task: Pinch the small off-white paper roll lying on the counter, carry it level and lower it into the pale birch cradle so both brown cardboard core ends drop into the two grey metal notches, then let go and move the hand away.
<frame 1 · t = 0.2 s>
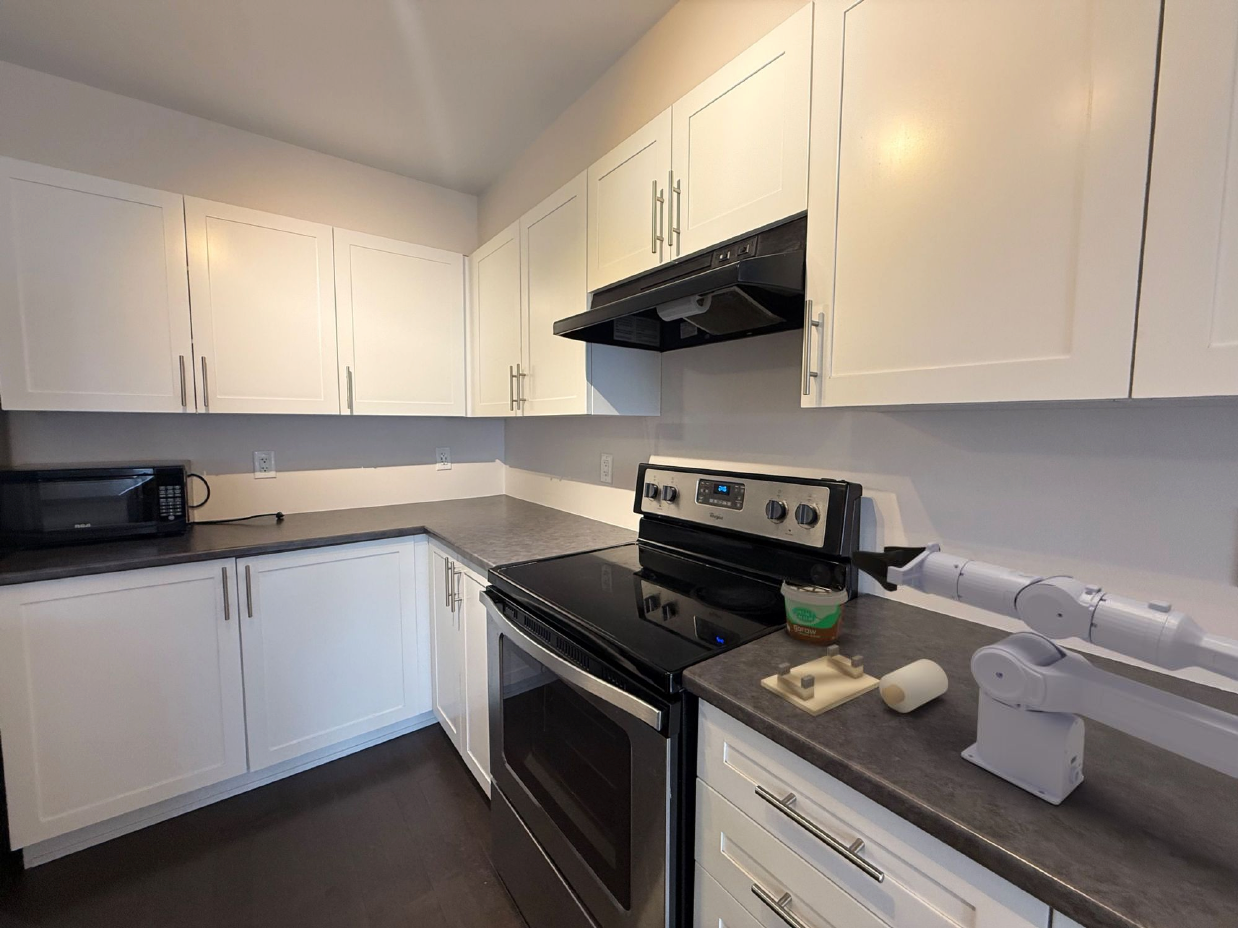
hand: (869, 555, 75), 21 cm above the worktop, tool horizontal, fingers open, 7 cm apart
cradle: (820, 685, 79), on the worktop
food container: (810, 640, 95), on the worktop
paper roll: (912, 701, 74), on the worktop
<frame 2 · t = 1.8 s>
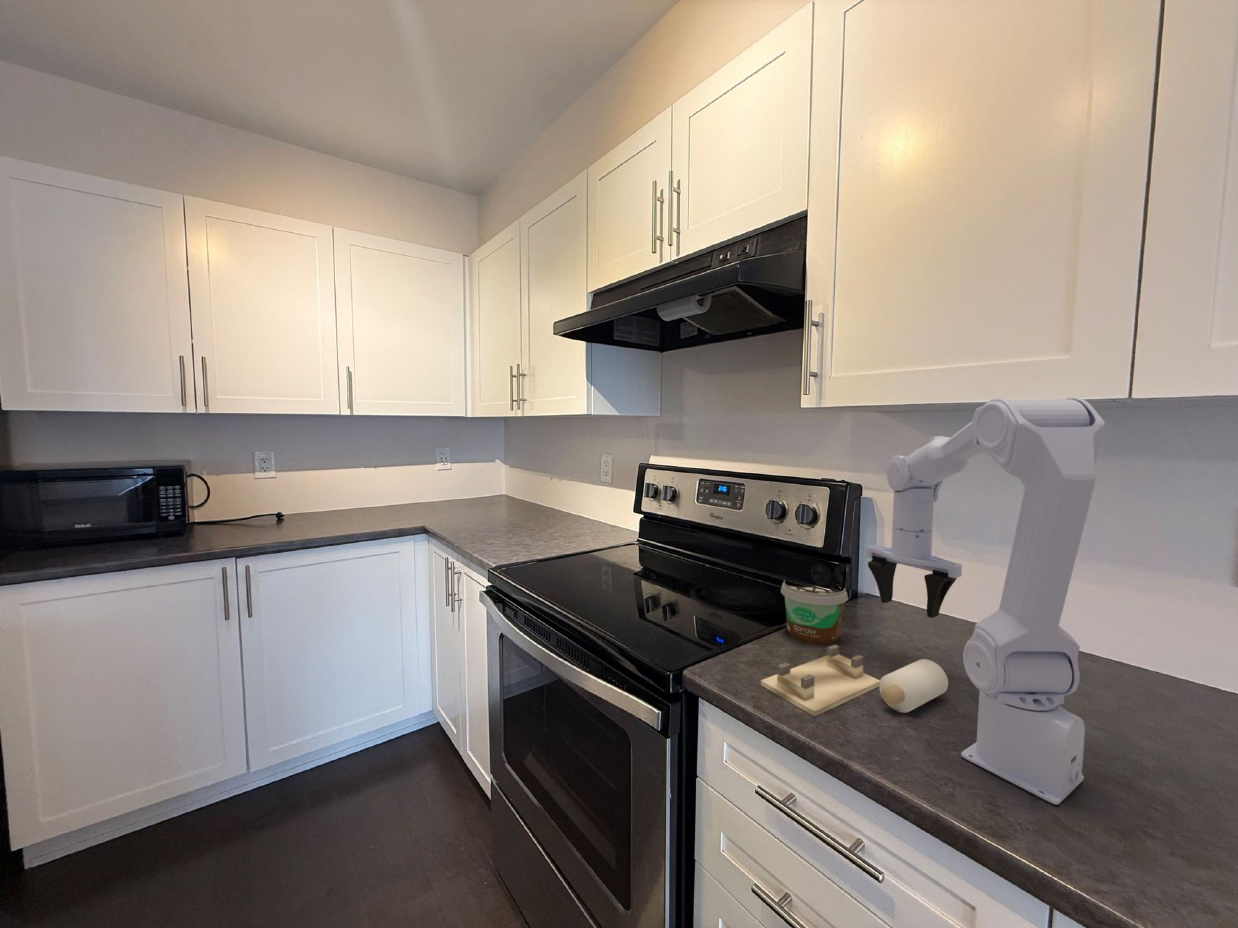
hand: (908, 608, 83), 10 cm above the worktop, tool pointing down, fingers open, 7 cm apart
nothing on the worktop moved.
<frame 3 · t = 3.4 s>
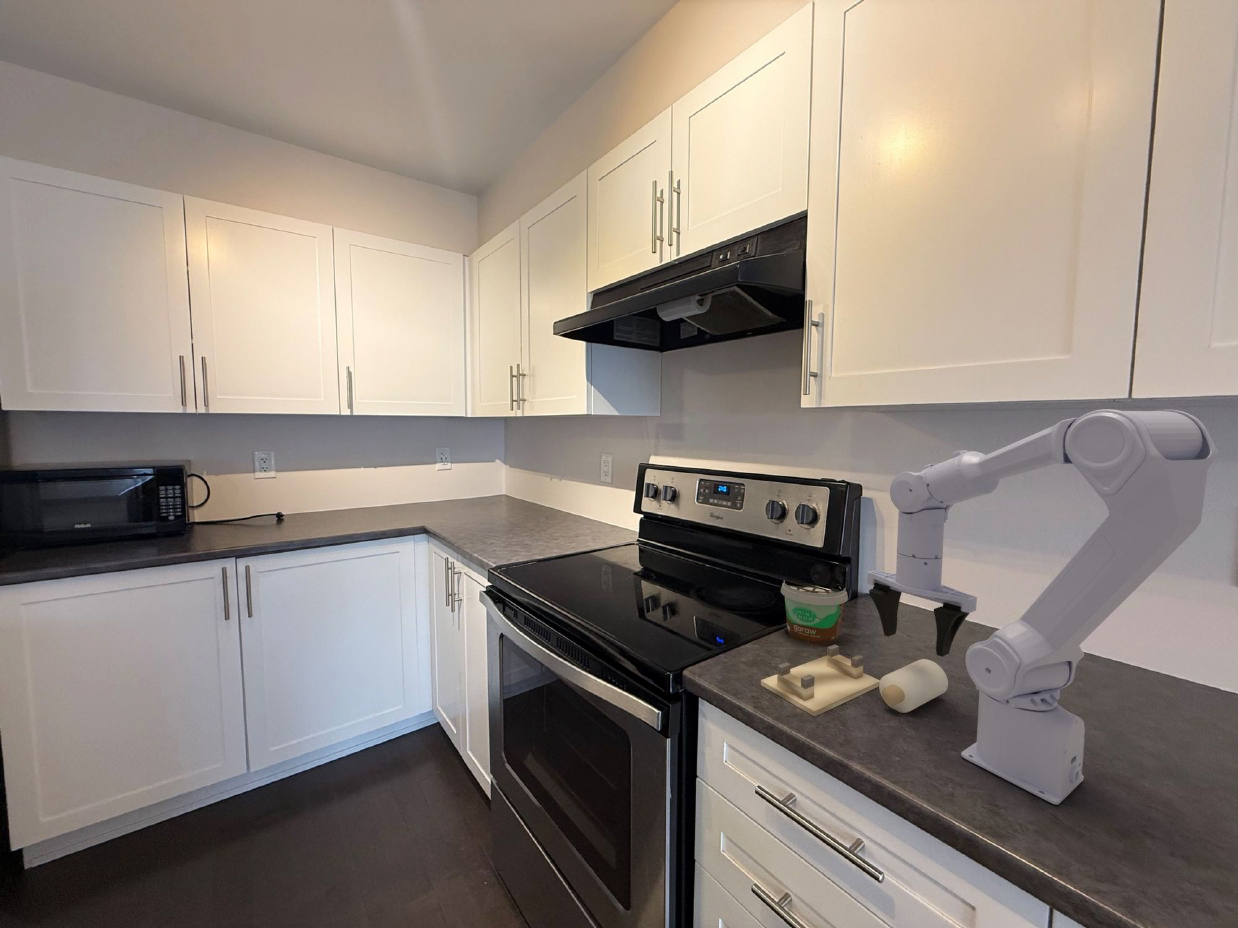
hand: (915, 643, 73), 9 cm above the worktop, tool pointing down, fingers open, 7 cm apart
nothing on the worktop moved.
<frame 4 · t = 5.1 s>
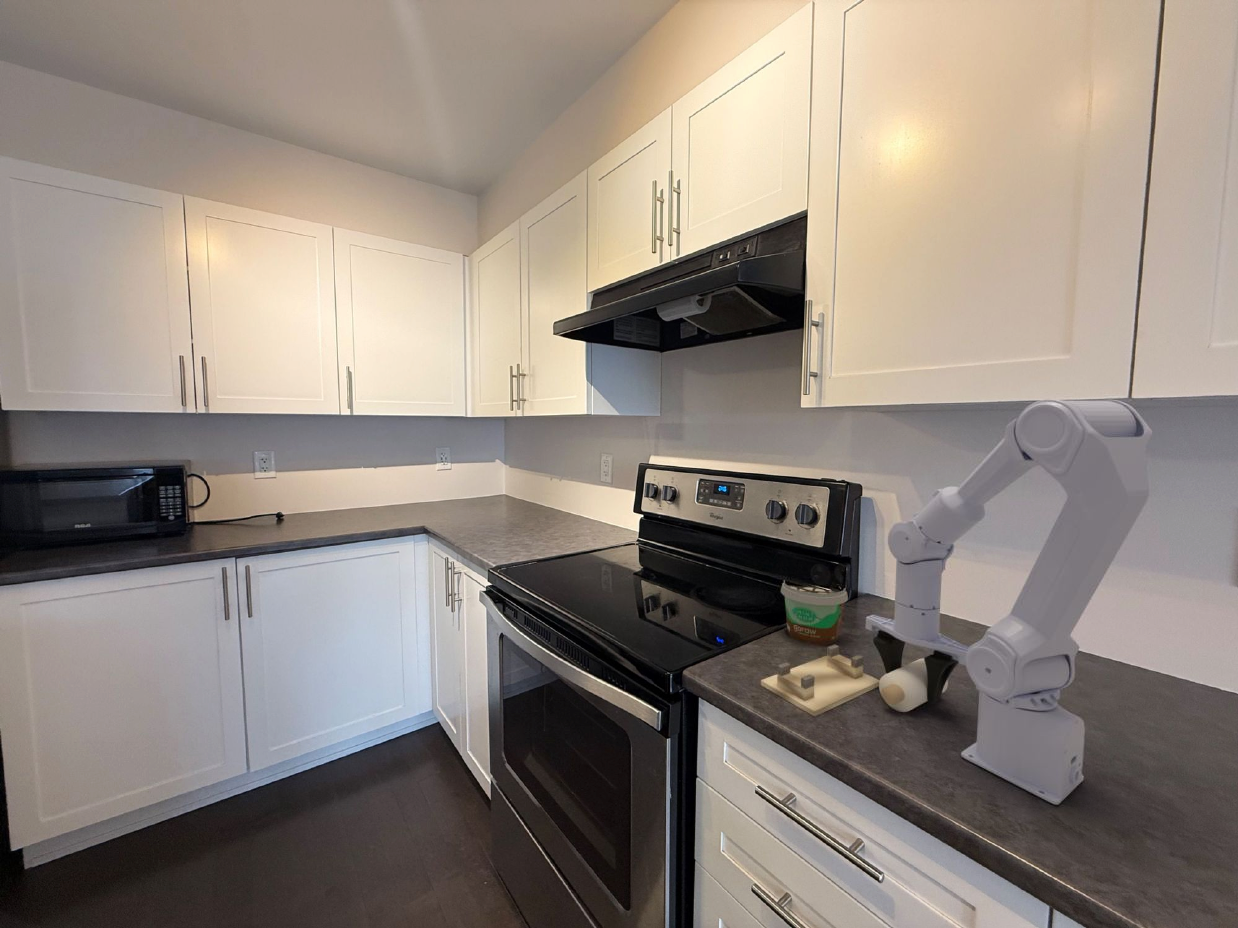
hand: (913, 691, 74), 1 cm above the worktop, tool pointing down, fingers closed on paper roll, 5 cm apart
paper roll: (912, 700, 74), on the worktop, touching gripper
everything else where it was.
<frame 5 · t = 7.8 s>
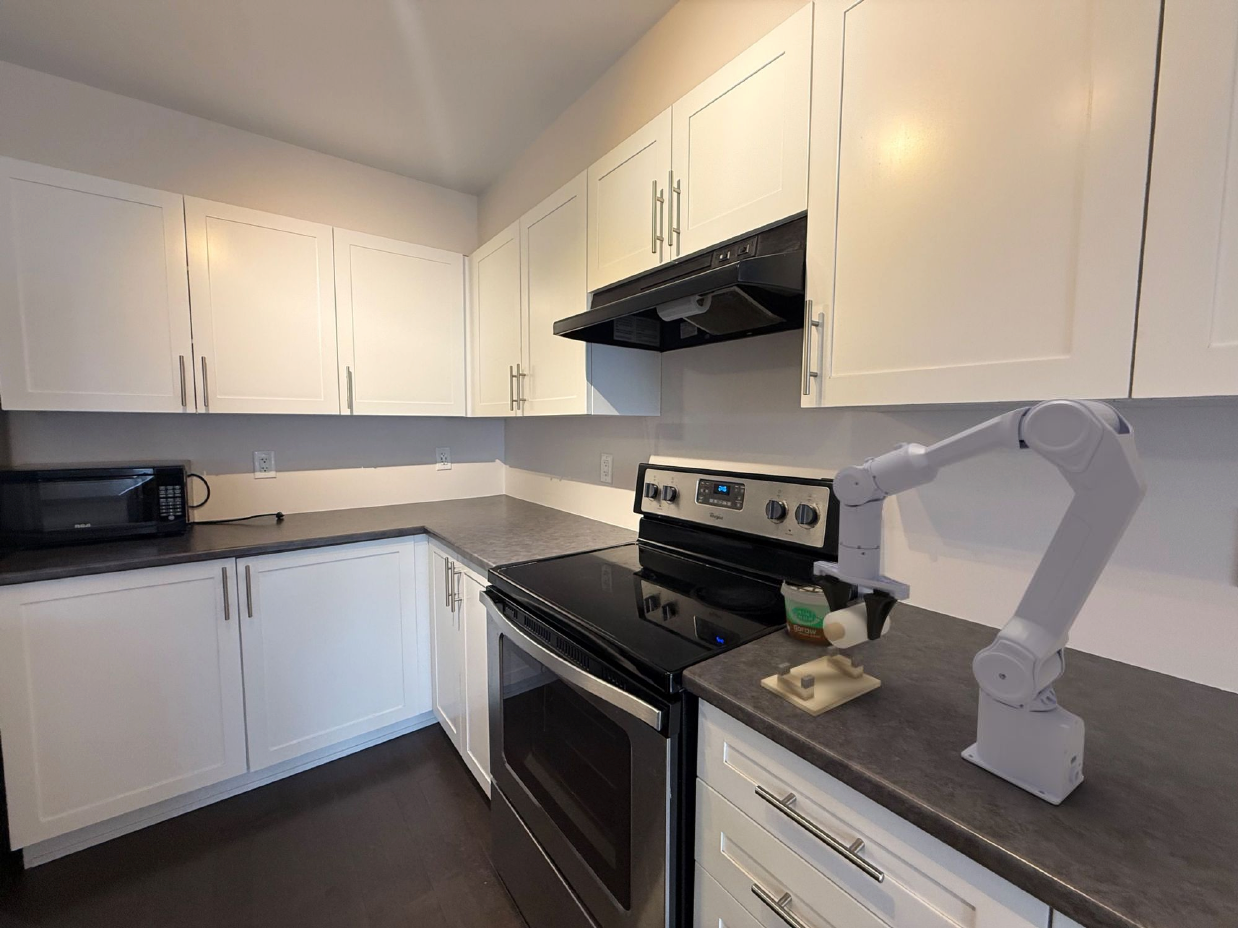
hand: (856, 631, 76), 9 cm above the worktop, tool pointing down, fingers closed on paper roll, 5 cm apart
paper roll: (856, 640, 76), point 8 cm above the worktop, touching gripper
everything else where it was.
when the fingers open (3 cm above the worktop, at t = 10.7 s): paper roll stays where it is, resting on cradle.
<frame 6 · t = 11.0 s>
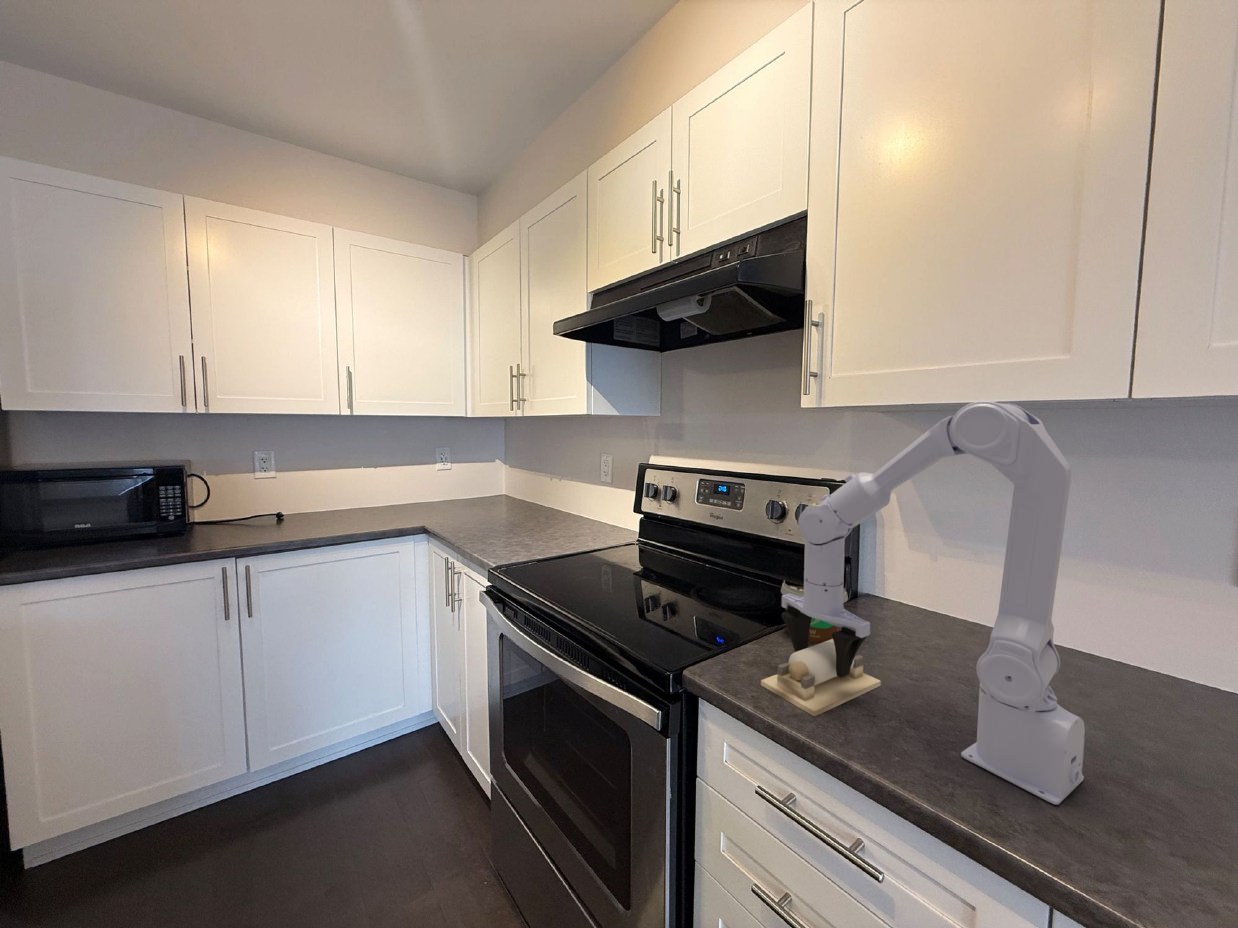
hand: (821, 664, 78), 3 cm above the worktop, tool pointing down, fingers open, 7 cm apart
paper roll: (821, 677, 78), point 1 cm above the worktop, touching cradle
everything else where it was.
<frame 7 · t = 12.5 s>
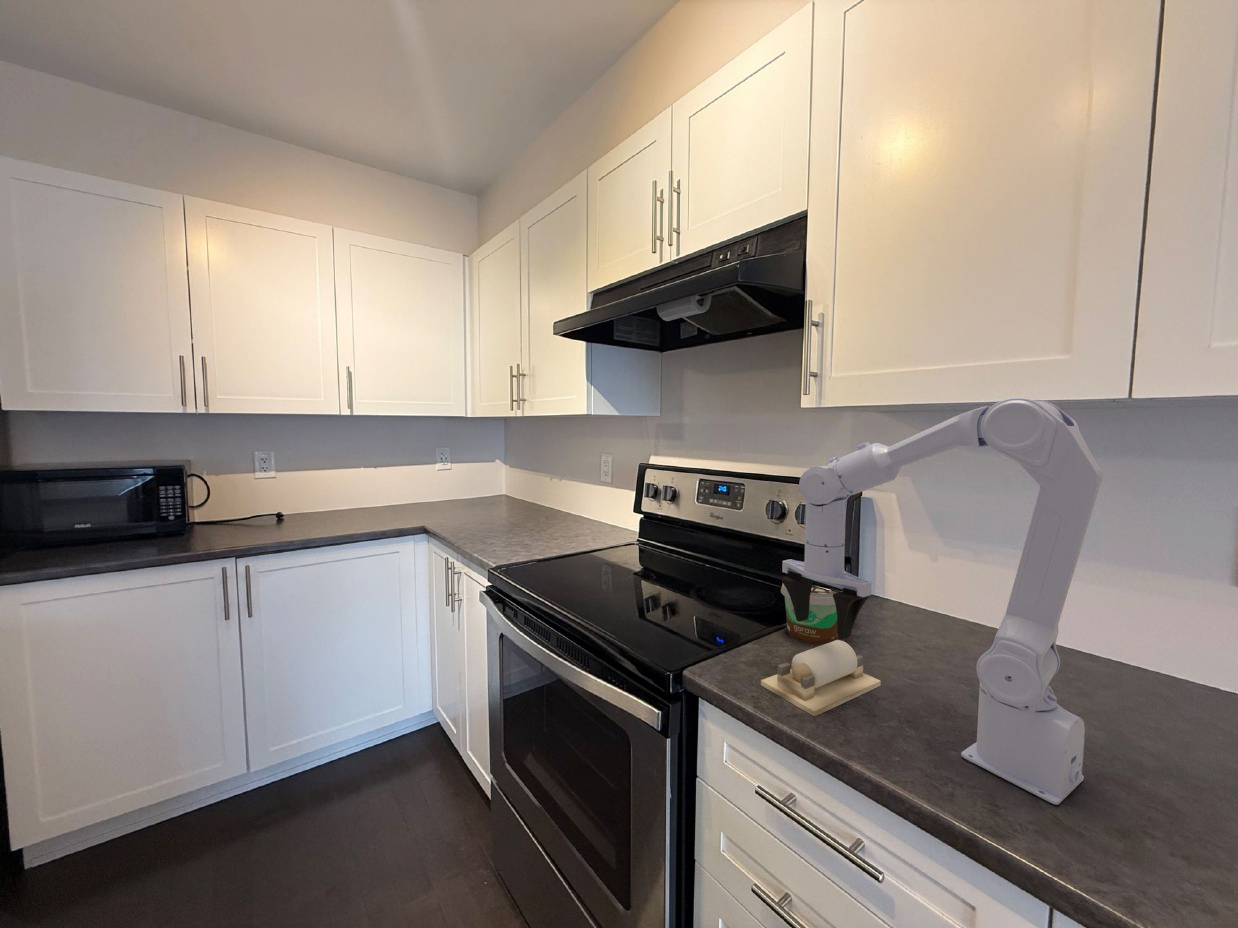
hand: (822, 627, 78), 9 cm above the worktop, tool pointing down, fingers open, 7 cm apart
paper roll: (817, 674, 79), point 2 cm above the worktop, tilted 28°, touching cradle
everything else where it was.
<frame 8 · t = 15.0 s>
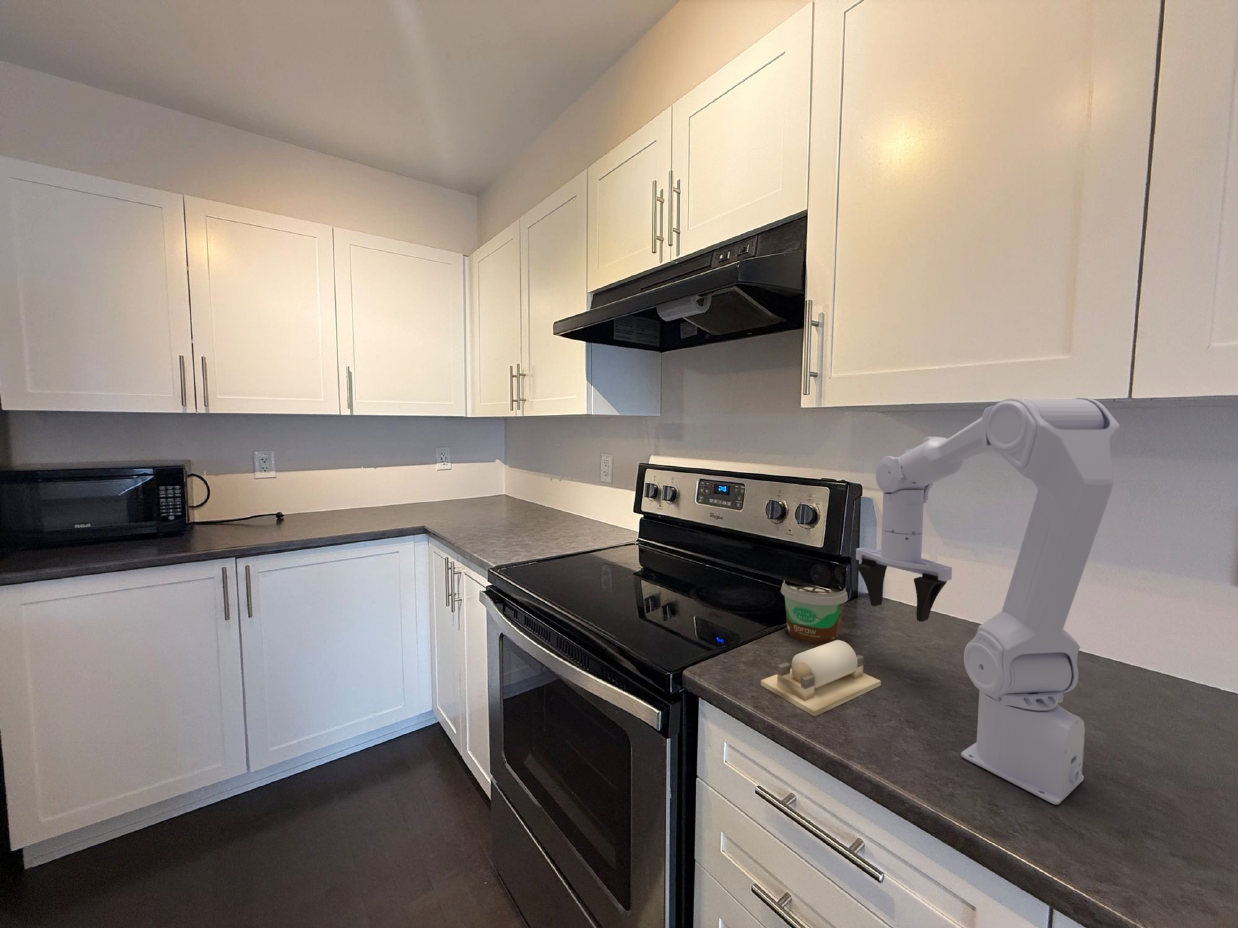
hand: (898, 612, 81), 10 cm above the worktop, tool pointing down, fingers open, 7 cm apart
nothing on the worktop moved.
at the end: paper roll 0.6 cm off-centre on the cradle, point 1.5 cm above the cradle's base; paper roll touching cradle; the gripper is holding nothing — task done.
